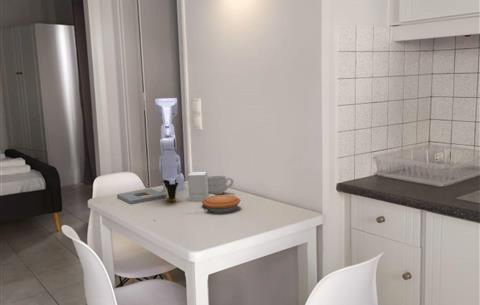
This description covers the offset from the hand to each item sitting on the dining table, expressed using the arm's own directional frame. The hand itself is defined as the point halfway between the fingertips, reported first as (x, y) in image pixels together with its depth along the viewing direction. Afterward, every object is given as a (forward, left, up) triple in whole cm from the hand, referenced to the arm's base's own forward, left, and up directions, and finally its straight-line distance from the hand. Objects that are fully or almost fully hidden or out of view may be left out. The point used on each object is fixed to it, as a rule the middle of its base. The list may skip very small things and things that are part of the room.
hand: (171, 197), depth 203 cm
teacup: (-25, -3, -3) cm, 25 cm away
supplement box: (-11, +4, -3) cm, 12 cm away
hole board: (+7, -15, -3) cm, 17 cm away
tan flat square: (0, 0, -3) cm, 3 cm away
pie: (-12, +20, -3) cm, 24 cm away
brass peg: (0, 0, -1) cm, 1 cm away
